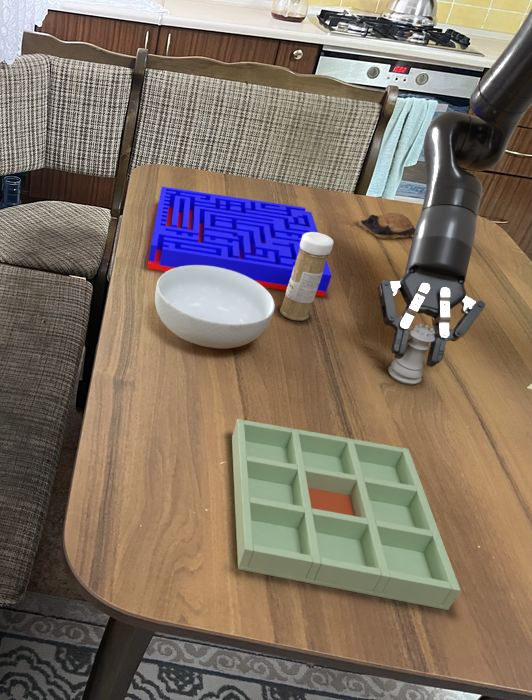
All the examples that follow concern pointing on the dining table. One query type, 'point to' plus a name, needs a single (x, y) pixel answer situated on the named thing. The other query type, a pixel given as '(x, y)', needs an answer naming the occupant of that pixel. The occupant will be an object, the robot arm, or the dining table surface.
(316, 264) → the sprinkles bottle
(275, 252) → the maze
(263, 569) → the grid
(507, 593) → the dining table surface
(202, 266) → the cereal bowl
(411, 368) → the rook chess piece
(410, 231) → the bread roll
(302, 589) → the dining table surface
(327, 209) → the dining table surface
